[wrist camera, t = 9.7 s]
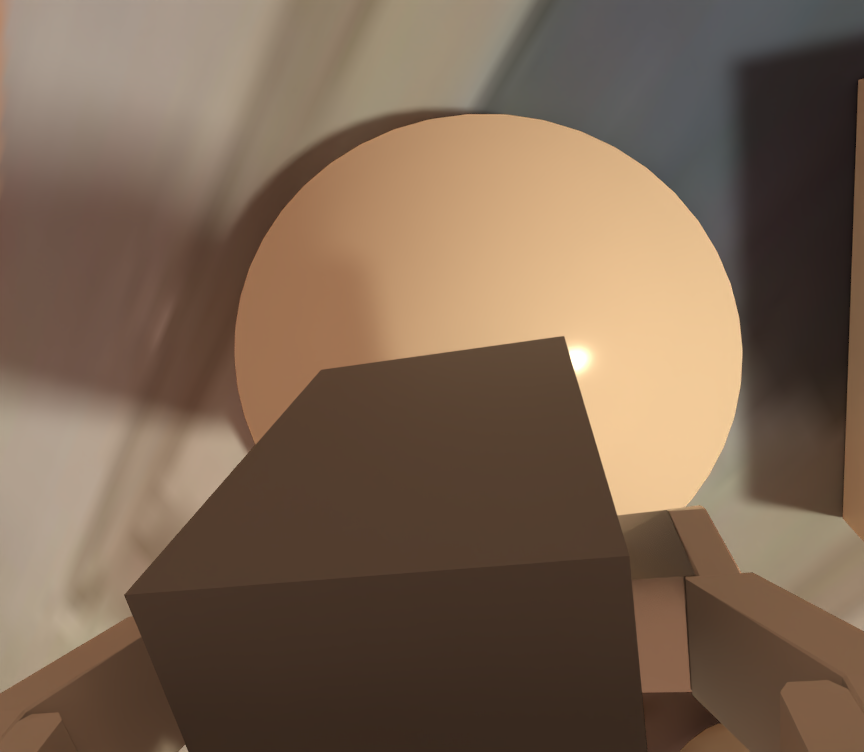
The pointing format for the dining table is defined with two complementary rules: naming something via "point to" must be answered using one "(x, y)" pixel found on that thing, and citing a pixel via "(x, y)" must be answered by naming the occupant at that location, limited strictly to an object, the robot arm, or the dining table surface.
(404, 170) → the peach ellipsoid
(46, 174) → the dining table surface
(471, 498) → the block
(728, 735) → the donut
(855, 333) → the pocket collar
